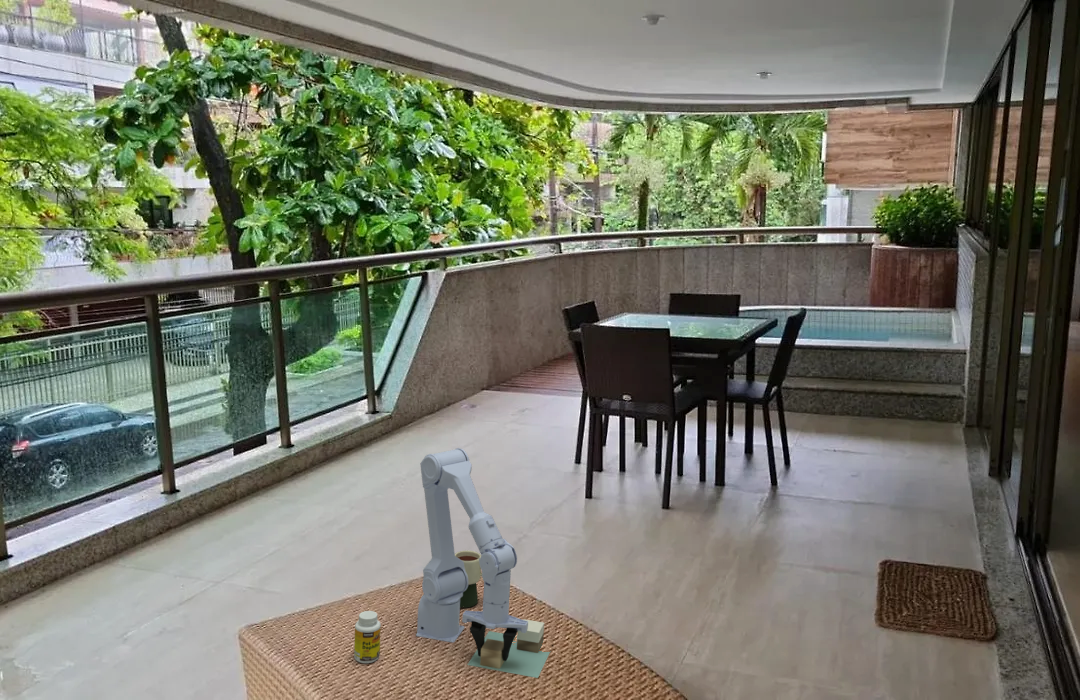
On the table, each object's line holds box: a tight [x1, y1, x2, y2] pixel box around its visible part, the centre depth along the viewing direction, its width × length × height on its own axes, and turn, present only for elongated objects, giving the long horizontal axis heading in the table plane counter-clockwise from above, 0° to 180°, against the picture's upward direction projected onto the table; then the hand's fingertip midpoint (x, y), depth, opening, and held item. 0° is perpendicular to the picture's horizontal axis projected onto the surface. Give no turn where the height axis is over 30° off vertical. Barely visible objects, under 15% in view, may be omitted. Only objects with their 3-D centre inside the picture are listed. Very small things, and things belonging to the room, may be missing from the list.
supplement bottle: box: [353, 610, 382, 664], centre depth 186 cm, size 6×6×10 cm
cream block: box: [516, 619, 545, 643], centre depth 194 cm, size 5×5×2 cm
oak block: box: [480, 639, 504, 669], centre depth 187 cm, size 4×4×4 cm
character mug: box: [454, 550, 482, 608], centre depth 214 cm, size 11×7×13 cm, turn 82°
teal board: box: [467, 630, 551, 679], centre depth 191 cm, size 16×16×1 cm
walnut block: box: [517, 632, 545, 653], centre depth 195 cm, size 5×5×2 cm
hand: (493, 656), depth 187 cm, fingers open, 5 cm apart
